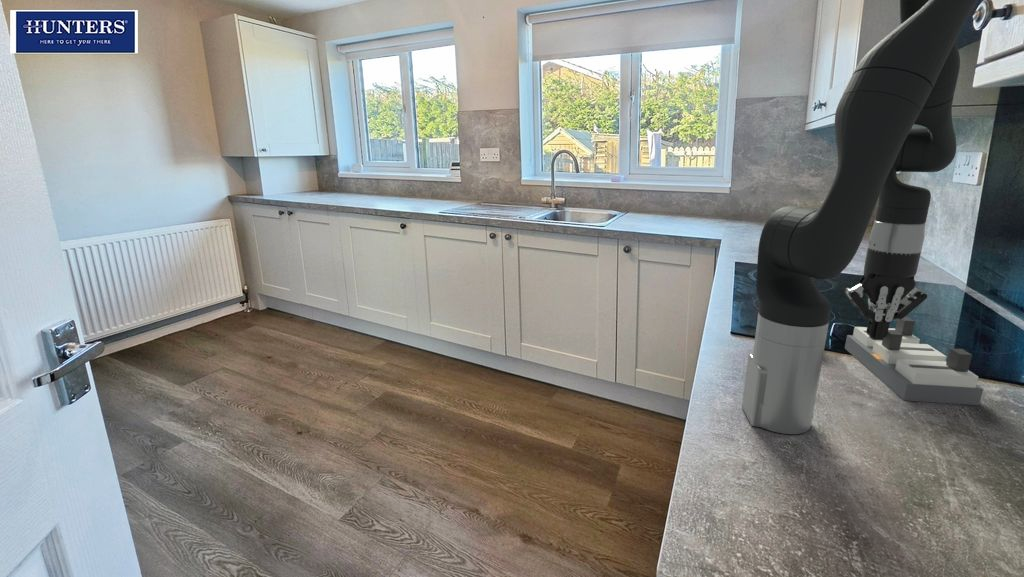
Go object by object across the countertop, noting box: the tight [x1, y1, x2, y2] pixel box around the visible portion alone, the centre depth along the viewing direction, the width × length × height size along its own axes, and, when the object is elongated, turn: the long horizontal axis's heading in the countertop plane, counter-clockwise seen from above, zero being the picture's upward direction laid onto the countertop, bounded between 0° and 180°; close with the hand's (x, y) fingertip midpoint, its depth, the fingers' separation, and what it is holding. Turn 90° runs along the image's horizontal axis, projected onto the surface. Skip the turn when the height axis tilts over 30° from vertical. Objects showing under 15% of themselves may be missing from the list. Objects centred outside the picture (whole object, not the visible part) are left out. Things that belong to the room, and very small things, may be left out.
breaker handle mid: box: [882, 330, 903, 350], centre depth 91 cm, size 2×2×3 cm
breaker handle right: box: [946, 348, 973, 372], centre depth 82 cm, size 2×2×3 cm
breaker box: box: [844, 326, 984, 406], centre depth 92 cm, size 11×22×5 cm, turn 169°
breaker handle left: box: [894, 316, 916, 336], centre depth 97 cm, size 2×2×3 cm
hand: (875, 338), depth 92 cm, fingers closed
